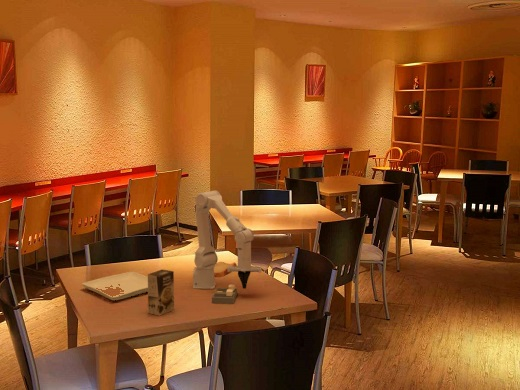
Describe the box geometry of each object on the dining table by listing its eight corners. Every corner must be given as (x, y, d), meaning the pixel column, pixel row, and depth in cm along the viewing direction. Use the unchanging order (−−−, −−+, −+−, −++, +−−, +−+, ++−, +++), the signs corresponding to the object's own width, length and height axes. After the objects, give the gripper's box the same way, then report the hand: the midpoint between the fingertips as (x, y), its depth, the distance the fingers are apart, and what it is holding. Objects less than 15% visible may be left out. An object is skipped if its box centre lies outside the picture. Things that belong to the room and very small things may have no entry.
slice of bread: (214, 278, 284) (214, 271, 283) (199, 269, 300) (199, 262, 299) (247, 273, 293) (247, 266, 292) (231, 265, 308) (231, 258, 308)
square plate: (80, 290, 266) (80, 282, 265) (132, 278, 285) (132, 270, 285) (112, 305, 247) (112, 296, 247) (166, 290, 266) (166, 282, 266)
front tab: (226, 296, 249) (226, 291, 249) (227, 293, 252) (227, 289, 252) (232, 296, 249) (231, 291, 248) (232, 294, 252) (232, 289, 251)
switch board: (211, 303, 248) (211, 297, 248) (217, 293, 261) (217, 287, 261) (233, 303, 248) (233, 297, 247) (237, 293, 260) (237, 288, 260)
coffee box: (160, 316, 233) (159, 276, 231) (147, 313, 237) (146, 274, 234) (175, 309, 241) (174, 271, 238) (163, 306, 244) (162, 268, 242)
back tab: (228, 290, 256) (228, 286, 255) (229, 288, 259) (229, 284, 258) (234, 291, 256) (234, 286, 255) (235, 288, 258) (235, 284, 258)
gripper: (226, 259, 251) (226, 290, 253) (260, 260, 250) (260, 291, 252) (228, 255, 258) (228, 285, 260) (261, 255, 257) (261, 286, 259)
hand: (244, 287), depth 256 cm, fingers closed
